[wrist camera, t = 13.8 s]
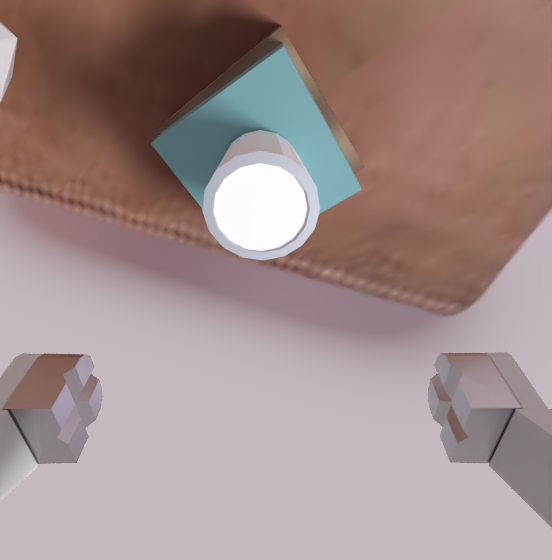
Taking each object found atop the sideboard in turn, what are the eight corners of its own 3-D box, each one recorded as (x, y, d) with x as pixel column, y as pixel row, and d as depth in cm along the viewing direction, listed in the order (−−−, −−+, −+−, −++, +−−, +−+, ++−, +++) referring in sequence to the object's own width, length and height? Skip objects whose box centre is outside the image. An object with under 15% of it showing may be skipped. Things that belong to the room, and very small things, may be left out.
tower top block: (164, 129, 32) (150, 143, 29) (282, 42, 29) (283, 46, 25) (244, 235, 37) (241, 258, 34) (353, 171, 34) (361, 189, 30)
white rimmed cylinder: (202, 195, 30) (188, 241, 25) (231, 104, 27) (222, 132, 21) (286, 225, 32) (292, 274, 26) (324, 142, 29) (340, 178, 23)
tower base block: (169, 116, 36) (155, 130, 32) (280, 24, 32) (281, 26, 28) (251, 218, 42) (248, 241, 37) (355, 149, 38) (364, 166, 34)
